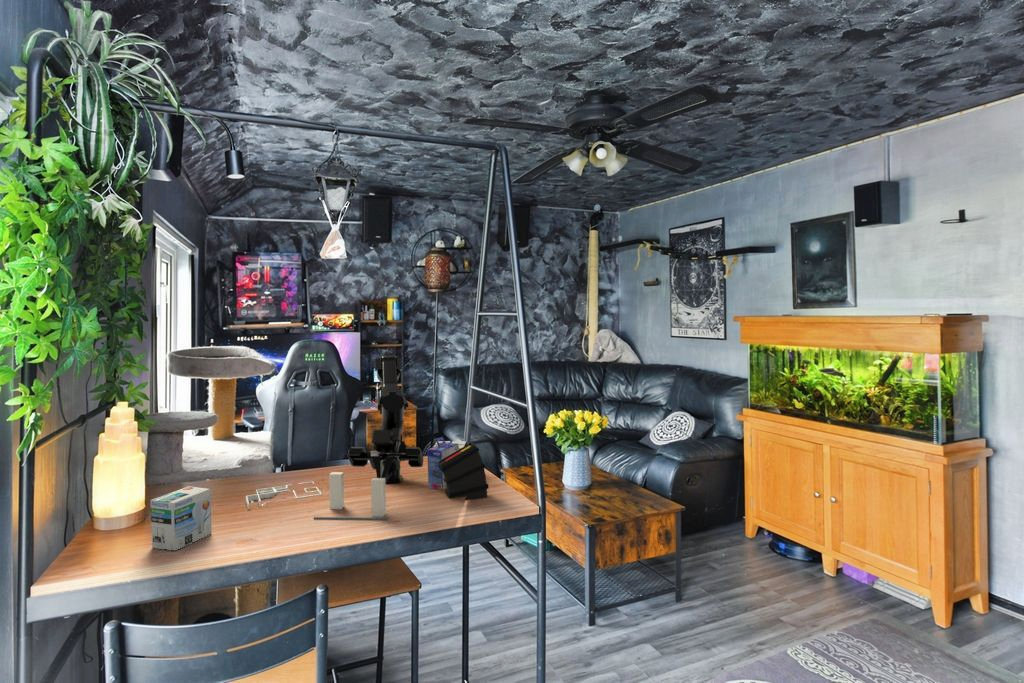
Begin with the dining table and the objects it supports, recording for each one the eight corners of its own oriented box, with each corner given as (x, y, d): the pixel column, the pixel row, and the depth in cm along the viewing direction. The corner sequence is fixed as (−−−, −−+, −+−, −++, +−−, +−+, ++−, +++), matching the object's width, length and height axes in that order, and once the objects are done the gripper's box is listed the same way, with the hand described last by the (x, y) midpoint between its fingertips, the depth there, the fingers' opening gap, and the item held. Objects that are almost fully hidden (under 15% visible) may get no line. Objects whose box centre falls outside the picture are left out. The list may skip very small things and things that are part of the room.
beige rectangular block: (373, 513, 143) (373, 477, 143) (385, 513, 143) (385, 478, 143) (371, 516, 141) (371, 480, 141) (383, 516, 141) (383, 480, 141)
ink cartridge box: (444, 481, 173) (444, 434, 173) (460, 483, 171) (460, 435, 170) (426, 490, 165) (426, 440, 164) (443, 493, 162) (442, 442, 161)
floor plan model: (251, 523, 141) (251, 516, 141) (243, 495, 162) (243, 488, 162) (329, 510, 150) (329, 503, 150) (312, 485, 172) (312, 478, 171)
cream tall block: (332, 506, 148) (332, 472, 148) (344, 506, 148) (343, 472, 148) (329, 509, 146) (329, 474, 146) (341, 509, 146) (340, 474, 146)
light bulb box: (175, 552, 123) (173, 502, 123) (150, 548, 125) (148, 500, 124) (213, 533, 133) (212, 487, 133) (190, 530, 135) (188, 485, 135)
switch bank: (331, 506, 151) (331, 500, 151) (398, 507, 151) (398, 501, 151) (313, 523, 139) (313, 517, 139) (387, 524, 139) (387, 518, 139)
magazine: (498, 490, 159) (476, 444, 156) (457, 516, 155) (433, 469, 152) (494, 486, 163) (472, 441, 160) (453, 511, 159) (430, 465, 156)
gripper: (348, 416, 148) (334, 470, 137) (420, 416, 147) (412, 470, 137) (358, 439, 156) (346, 492, 146) (426, 440, 155) (419, 493, 145)
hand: (380, 486), depth 143 cm, fingers closed, pressing on beige rectangular block
